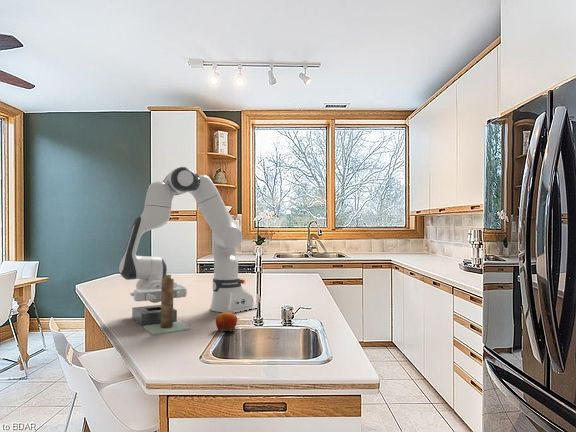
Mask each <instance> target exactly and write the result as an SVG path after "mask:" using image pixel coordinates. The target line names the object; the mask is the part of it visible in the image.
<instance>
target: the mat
mask: <svg viewBox="0 0 576 432" xmlns="http://www.w3.org/2000/svg"><path fill="white" fill-rule="evenodd" d="M143 329H145V330H147V332H148V333H150V334H151V335H153V336H154V335H162V334H168V333H169V334H170V333H176V332H183V331H191V327H189V326H188V325H187V324H185V323H183V322H181V321H176V322H173V327H172V328H161V323H160V324H152V325H144V326H143Z"/></svg>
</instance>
